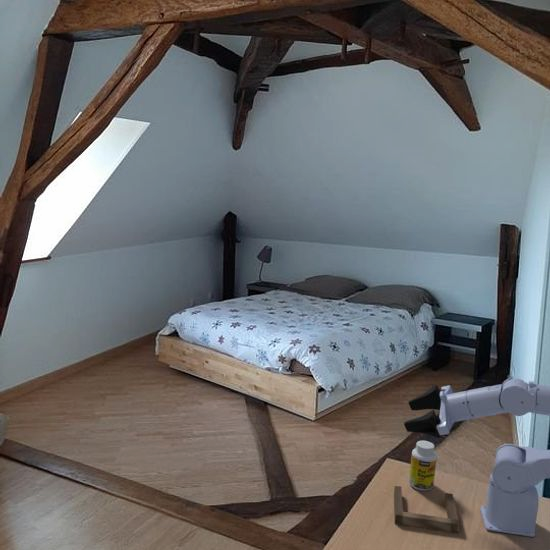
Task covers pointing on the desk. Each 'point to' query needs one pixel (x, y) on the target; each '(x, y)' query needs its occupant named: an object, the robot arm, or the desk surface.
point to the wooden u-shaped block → (425, 520)
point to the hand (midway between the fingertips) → (408, 416)
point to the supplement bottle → (423, 466)
